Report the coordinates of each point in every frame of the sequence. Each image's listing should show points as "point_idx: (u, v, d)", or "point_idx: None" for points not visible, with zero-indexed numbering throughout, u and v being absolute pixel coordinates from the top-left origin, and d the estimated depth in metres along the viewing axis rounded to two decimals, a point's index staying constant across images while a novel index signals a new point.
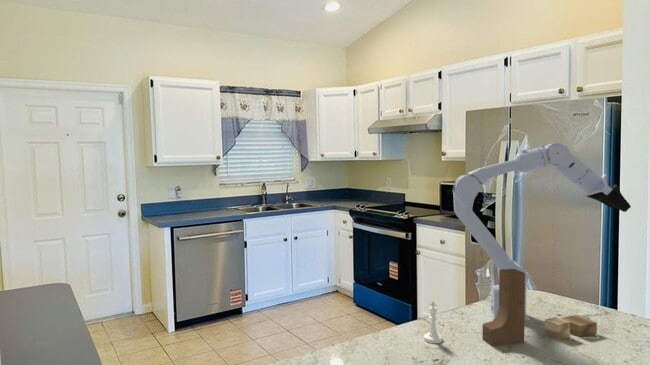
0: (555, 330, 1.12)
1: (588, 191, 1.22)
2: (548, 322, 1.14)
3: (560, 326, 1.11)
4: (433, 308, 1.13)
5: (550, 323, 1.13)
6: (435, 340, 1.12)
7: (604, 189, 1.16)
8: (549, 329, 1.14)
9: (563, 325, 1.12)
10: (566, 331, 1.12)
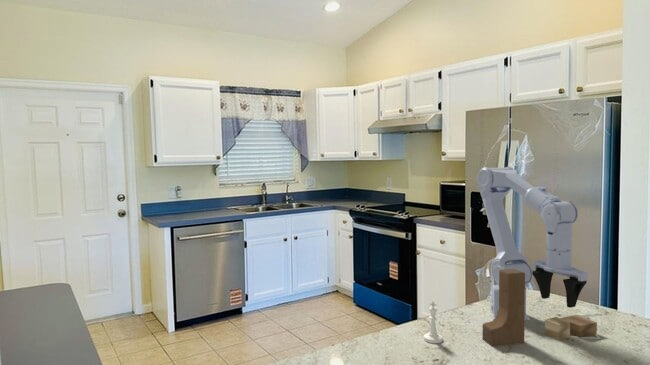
0: (555, 330, 1.12)
1: None
2: (548, 322, 1.14)
3: (560, 326, 1.11)
4: (433, 308, 1.13)
5: (550, 323, 1.13)
6: (435, 340, 1.12)
7: None
8: (549, 329, 1.14)
9: (563, 325, 1.12)
10: (566, 331, 1.12)
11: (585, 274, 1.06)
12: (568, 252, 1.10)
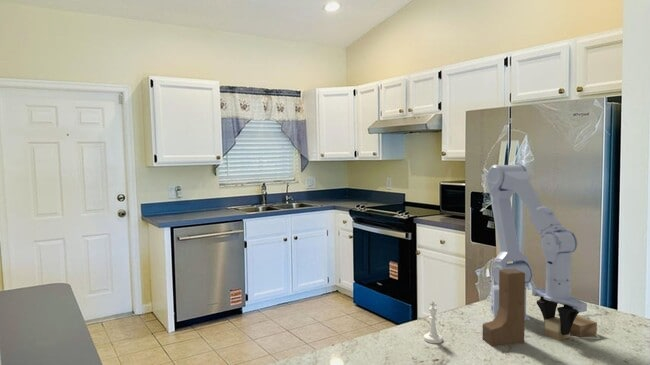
0: (555, 330, 1.12)
1: None
2: (548, 322, 1.14)
3: (560, 326, 1.11)
4: (433, 308, 1.13)
5: (550, 323, 1.13)
6: (435, 340, 1.12)
7: None
8: (549, 329, 1.14)
9: None
10: None
11: (584, 305, 1.07)
12: (568, 282, 1.10)
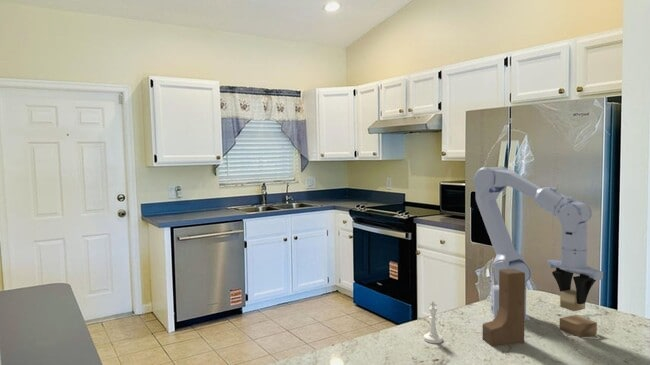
0: (570, 301, 1.13)
1: None
2: (563, 294, 1.15)
3: (575, 297, 1.13)
4: (433, 308, 1.13)
5: (565, 295, 1.15)
6: (435, 340, 1.12)
7: None
8: (564, 301, 1.15)
9: None
10: None
11: (600, 273, 1.08)
12: (583, 251, 1.12)
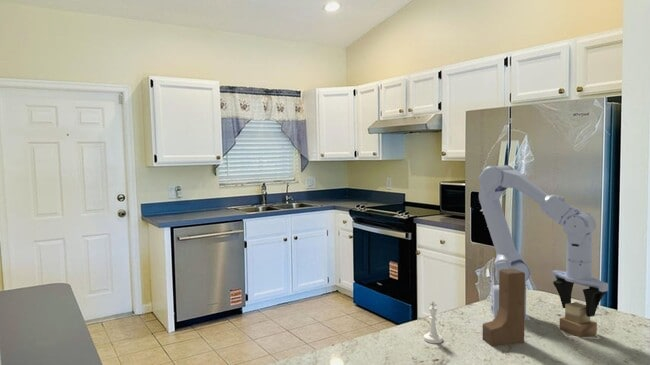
0: (575, 314, 1.14)
1: None
2: (568, 306, 1.16)
3: (580, 310, 1.14)
4: (433, 308, 1.13)
5: (570, 307, 1.16)
6: (435, 340, 1.12)
7: None
8: (569, 314, 1.16)
9: (583, 309, 1.14)
10: (586, 315, 1.14)
11: (606, 285, 1.09)
12: (589, 263, 1.13)
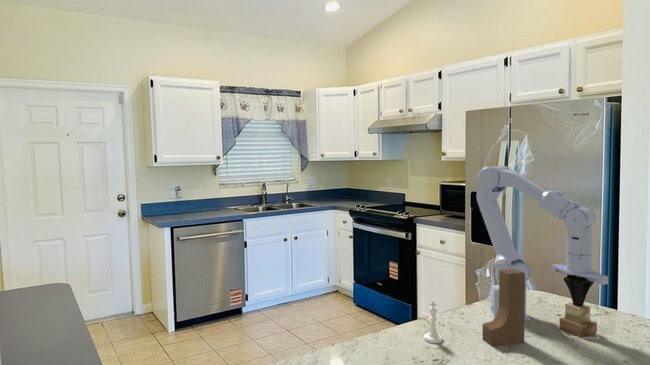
0: (575, 314, 1.14)
1: None
2: (568, 306, 1.16)
3: (580, 310, 1.14)
4: (433, 308, 1.13)
5: (570, 307, 1.16)
6: (435, 340, 1.12)
7: None
8: (569, 314, 1.16)
9: (583, 309, 1.14)
10: (586, 315, 1.14)
11: (606, 278, 1.09)
12: (589, 256, 1.13)
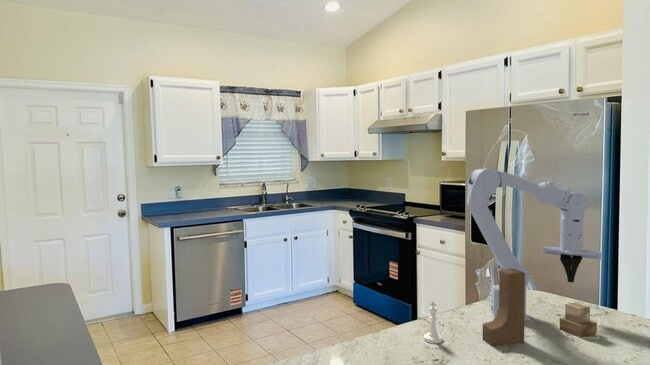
0: (575, 314, 1.14)
1: None
2: (568, 306, 1.16)
3: (580, 310, 1.14)
4: (433, 308, 1.13)
5: (570, 307, 1.16)
6: (435, 340, 1.12)
7: None
8: (569, 314, 1.16)
9: (583, 309, 1.14)
10: (586, 315, 1.14)
11: None
12: None
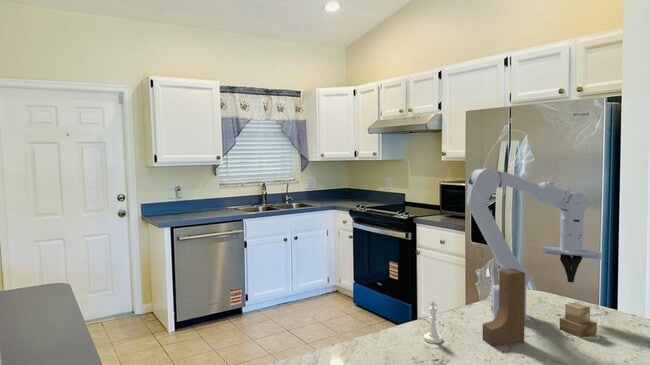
0: (575, 314, 1.14)
1: None
2: (568, 306, 1.16)
3: (580, 310, 1.14)
4: (433, 308, 1.13)
5: (570, 307, 1.16)
6: (435, 340, 1.12)
7: None
8: (569, 314, 1.16)
9: (583, 309, 1.14)
10: (586, 315, 1.14)
11: None
12: None
